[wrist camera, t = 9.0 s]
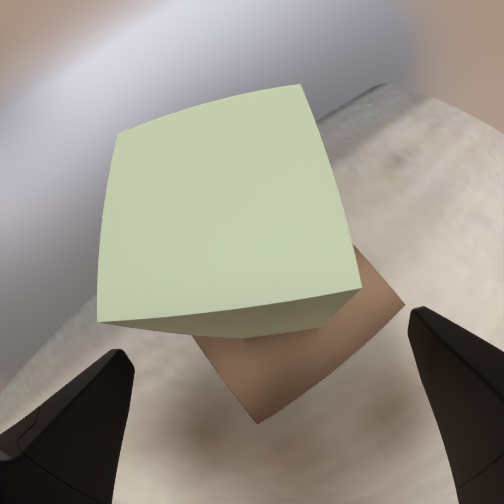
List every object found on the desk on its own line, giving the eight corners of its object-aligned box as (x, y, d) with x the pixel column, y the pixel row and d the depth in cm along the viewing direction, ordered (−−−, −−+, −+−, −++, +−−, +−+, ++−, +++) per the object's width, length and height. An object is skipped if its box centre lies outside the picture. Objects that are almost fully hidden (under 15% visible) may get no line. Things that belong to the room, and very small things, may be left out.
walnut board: (395, 308, 16) (405, 304, 14) (262, 415, 16) (257, 424, 14) (290, 193, 20) (288, 179, 18) (171, 287, 20) (158, 281, 18)
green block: (307, 252, 16) (300, 83, 5) (320, 327, 15) (362, 287, 4) (234, 264, 17) (118, 134, 6) (242, 338, 16) (97, 322, 4)
